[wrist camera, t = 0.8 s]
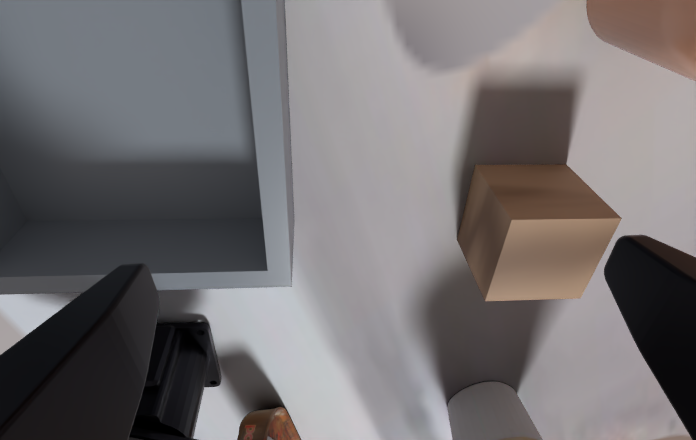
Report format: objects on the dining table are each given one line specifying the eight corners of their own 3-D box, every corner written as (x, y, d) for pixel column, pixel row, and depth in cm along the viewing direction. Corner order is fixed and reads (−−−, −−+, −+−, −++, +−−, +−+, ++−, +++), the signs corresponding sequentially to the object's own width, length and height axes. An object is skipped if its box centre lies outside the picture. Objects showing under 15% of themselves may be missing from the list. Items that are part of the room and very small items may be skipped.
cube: (537, 237, 25) (580, 298, 21) (456, 238, 25) (485, 301, 21) (565, 163, 23) (621, 218, 18) (474, 163, 22) (511, 220, 18)
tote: (294, 221, 23) (291, 286, 19) (24, 225, 22) (-39, 295, 18) (273, -261, 13) (257, -342, 9) (-246, -304, 12) (-543, -420, 7)
